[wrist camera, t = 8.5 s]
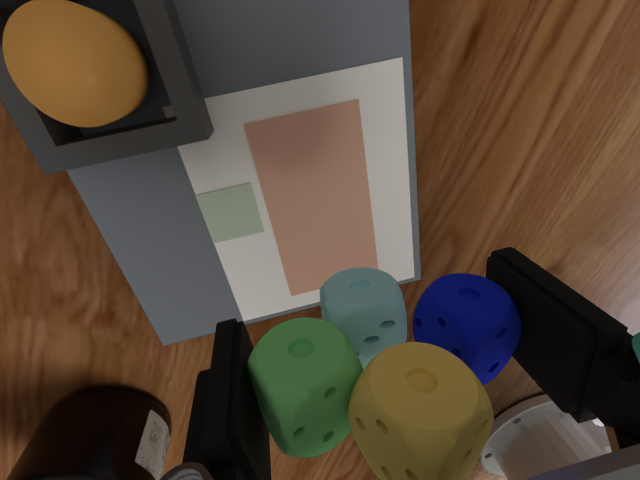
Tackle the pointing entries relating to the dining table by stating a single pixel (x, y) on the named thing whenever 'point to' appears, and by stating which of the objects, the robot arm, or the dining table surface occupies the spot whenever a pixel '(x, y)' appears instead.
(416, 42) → the dining table surface
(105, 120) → the button
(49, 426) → the ink bottle
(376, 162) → the colouring board
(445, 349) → the dice
